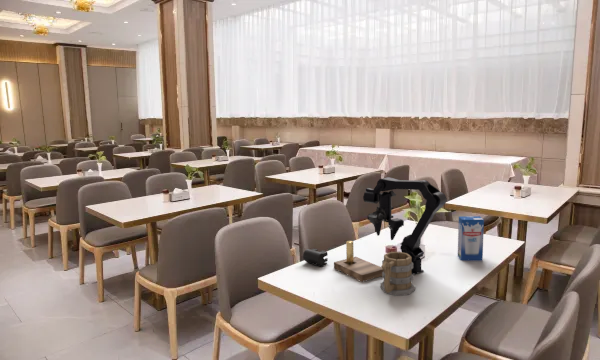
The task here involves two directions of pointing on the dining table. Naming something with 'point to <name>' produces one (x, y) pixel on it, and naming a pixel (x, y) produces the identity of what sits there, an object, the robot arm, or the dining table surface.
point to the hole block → (359, 269)
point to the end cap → (315, 257)
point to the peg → (349, 252)
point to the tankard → (397, 273)
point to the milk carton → (470, 238)
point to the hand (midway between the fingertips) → (385, 237)
